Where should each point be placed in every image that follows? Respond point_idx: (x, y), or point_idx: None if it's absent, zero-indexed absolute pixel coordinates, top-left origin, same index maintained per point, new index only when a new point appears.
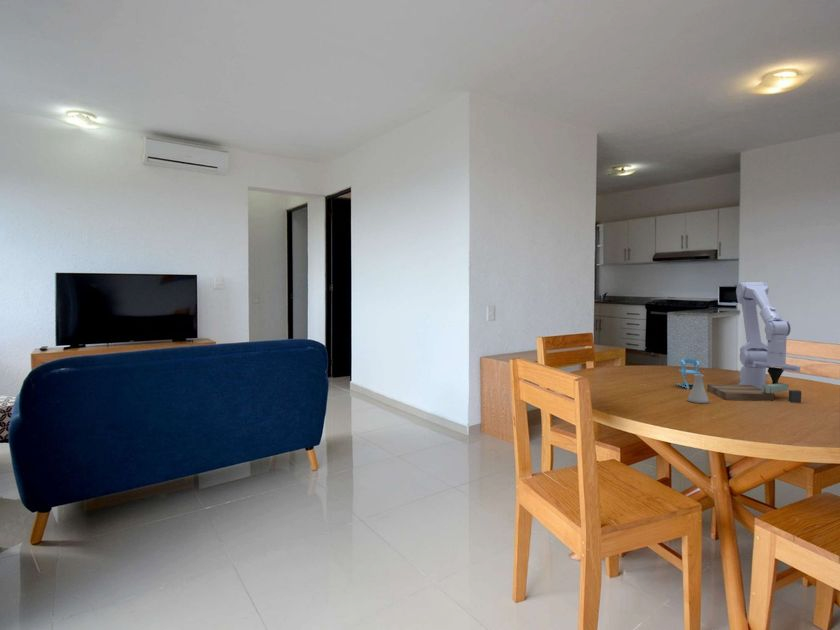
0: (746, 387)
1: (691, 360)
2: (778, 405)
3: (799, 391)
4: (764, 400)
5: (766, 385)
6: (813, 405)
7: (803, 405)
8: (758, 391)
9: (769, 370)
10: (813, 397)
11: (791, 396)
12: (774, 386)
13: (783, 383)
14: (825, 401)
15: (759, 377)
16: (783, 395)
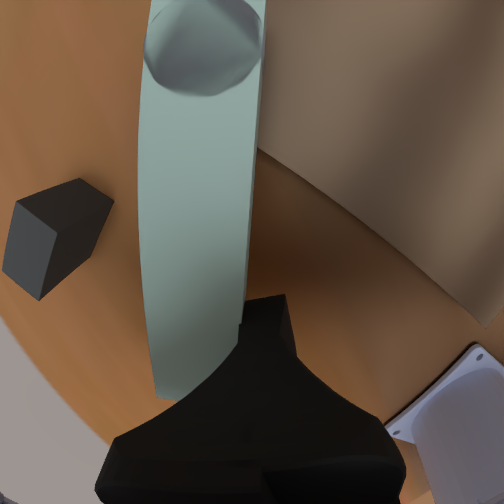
0: (486, 191)
1: None
2: (82, 3)
3: (4, 256)
4: None
5: (220, 50)
6: (5, 231)
7: (16, 171)
8: (326, 74)
9: (335, 459)
10: None
11: (55, 191)
12: (141, 133)
13: None
14: (66, 381)
15: (459, 450)
16: None
